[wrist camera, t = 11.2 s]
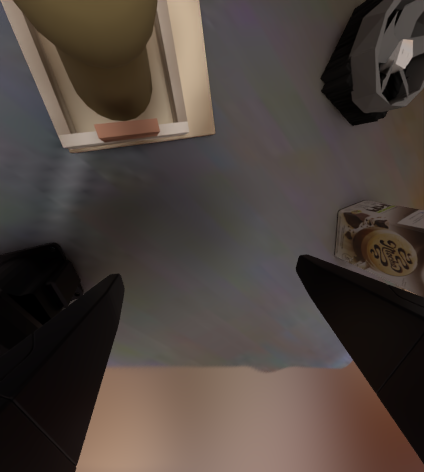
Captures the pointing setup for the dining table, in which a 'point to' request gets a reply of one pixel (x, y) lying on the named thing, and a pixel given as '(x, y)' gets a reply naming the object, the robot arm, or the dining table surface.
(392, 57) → the cpu cooler
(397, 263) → the coffee box
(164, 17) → the wooden box
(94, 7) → the cork
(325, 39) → the dining table surface
